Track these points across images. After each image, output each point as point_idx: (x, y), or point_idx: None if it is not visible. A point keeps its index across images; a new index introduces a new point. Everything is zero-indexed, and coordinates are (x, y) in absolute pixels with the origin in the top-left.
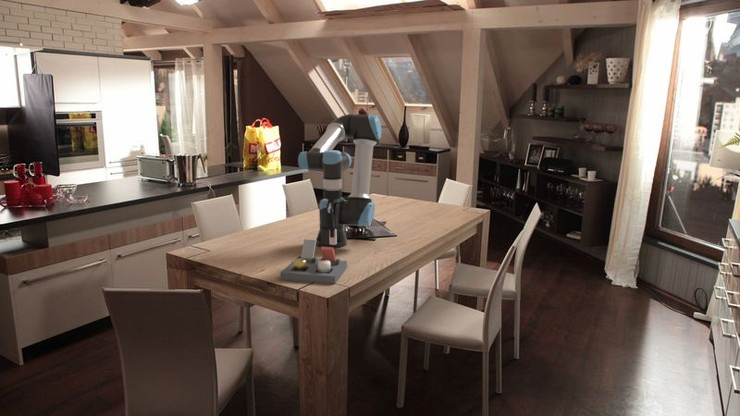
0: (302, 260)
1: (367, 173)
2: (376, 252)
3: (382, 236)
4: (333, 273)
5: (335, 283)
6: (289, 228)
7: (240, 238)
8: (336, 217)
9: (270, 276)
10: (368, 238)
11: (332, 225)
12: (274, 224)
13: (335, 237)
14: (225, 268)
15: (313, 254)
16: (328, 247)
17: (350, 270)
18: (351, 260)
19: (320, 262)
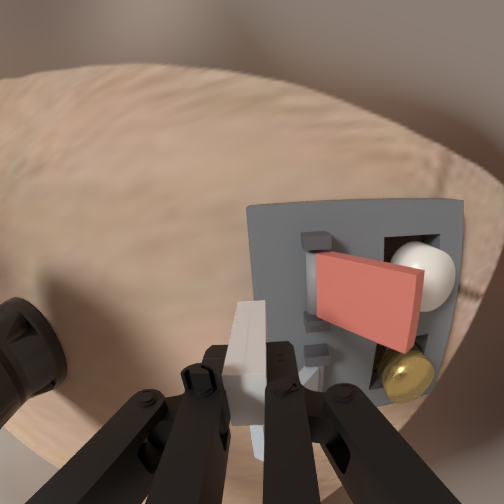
0: (414, 374)
1: None
2: (33, 168)
3: None
4: (438, 217)
5: (443, 198)
6: (28, 431)
7: None
8: (165, 491)
9: (391, 412)
10: None
11: (383, 425)
12: (34, 450)
13: (265, 329)
14: (335, 488)
15: (303, 377)
16: (414, 307)
17: (273, 180)
18: (134, 223)
19: (438, 295)
